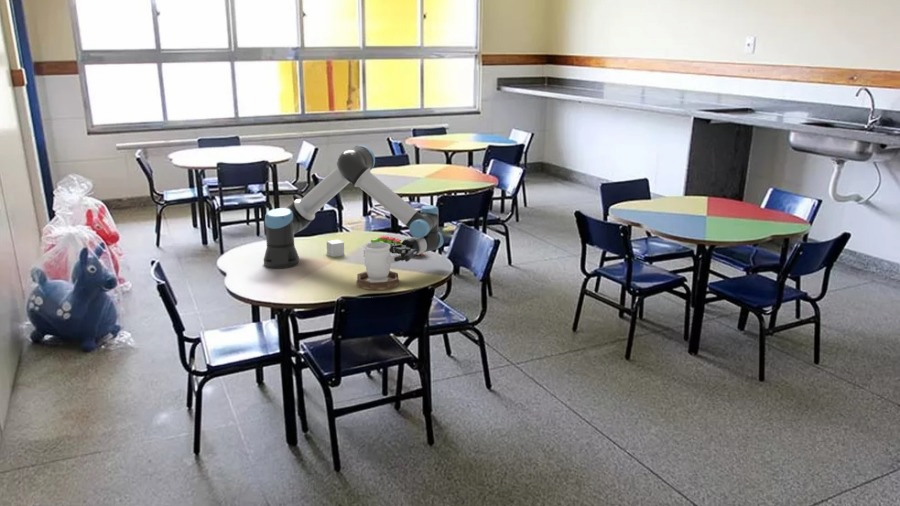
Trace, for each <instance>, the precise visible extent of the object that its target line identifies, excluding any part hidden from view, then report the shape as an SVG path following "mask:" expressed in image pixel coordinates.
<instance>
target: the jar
mask: <svg viewBox="0 0 900 506" xmlns="http://www.w3.org/2000/svg"><path fill="white" fill-rule="evenodd" d="M390 247H391V246H390V244H388V243H383V242H374V243H372V242H369V243H366V244H365V245H364V250H366V252H365V257H364V265H365V266H364V267H365V271H366V272H367V275H368V277H369V278H368V282H387V281H388V278H387V276H388V274H389V271H391V270H390V269H391V264H387V257H390V256H392V255H391V252H390V251H389V249H390Z"/></svg>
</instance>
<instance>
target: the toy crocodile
mask: <svg viewBox="0 0 900 506" xmlns="http://www.w3.org/2000/svg"><path fill="white" fill-rule="evenodd" d="M405 239H409V238H408V237H405ZM405 239H404V240H405ZM404 240H401V239H399V238H396V237H392V236H390V237H389V236H387V235H385V236H384V235H382V236H381V235H380V236H379V237H377V238H372V239H371V240H370V243H374V242H383V243H388V244H391V243H395V245H398V244H401V243H402V242H403V241H404ZM393 251H394V250H393Z"/></svg>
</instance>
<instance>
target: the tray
mask: <svg viewBox="0 0 900 506" xmlns="http://www.w3.org/2000/svg"><path fill="white" fill-rule="evenodd" d="M356 276H357V277H356V283H355V284H356V286H357V287H359V288H361V289H363V290H367V291H386V290H390V289H393V288H396V287H397V286H399V284H400V279H399V278H400V277H399V273H398V272H396V271H391V270H390V271H389V274H388V276H387V278H388V281H387V282H368V278H369V277H368V275H367V272H366V270H365V271H362V272H359V273H357V274H356Z"/></svg>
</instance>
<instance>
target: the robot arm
mask: <svg viewBox="0 0 900 506" xmlns="http://www.w3.org/2000/svg"><path fill="white" fill-rule="evenodd" d="M375 163H376V157H375V154H374V152H373V150H372V149H371V148H369V147H368V146H366V145H356V146H354V147H351V148H349V149H346V150H344V151H343V152H342V153H341V154H339V157H338V159H337V161H336V167H335V168H334V169H333V170H332V171H331V172H330V173H328V174H327V175H326V176H325V177H324V178H323V179H322V180H320V182H319V183H317V184H316V185H315V186H314V187H313V188H312V189H311V190H309V192H308V193H306V195H305V196H303V197H302V198H296V199H295V200H293V202H292V203H290V204H289V205H288V206H287V207H278V208H277V207H276V208H272V209H270V210H269V211H267V212H266V214H265V215H264V225H265V226H264V227H265V239H266V241H265V242H266V249H265V253H264V258H263V266H265V267H267V268H270V269H288V268H293V267H295V266H297V265H299V264H300V256H299V253H298V251H297V248H296V246H295V234H297V233H298V232H301V231H303V230H305V229H306V228H308V227H309V225H310V223H311V222H312V221H313V220H314V219H315V218H316V213H317V212H318V211H319V210H321V209H322V208H323V207H324V206H325V205H326V204H327V203H329V202H330V201H331V200H332V199H333V198H334V197H335V196H336V195H337V194H338V193H340V192H341V191H342V190H343V189H344V188H345V187H346V186H348V184H351V185H352V186H354V188H359V189H361V190H362V191H364V192H365V193H366V194H367V195H368V196H369V197H370V198H371V199H372V200H374V201H375V202H377V203H378V204H379V205H380V206H381V207H382V208H384V209H385V210H386V211H388V212H389V213H390V214H391V215H393V216H394V218H396V219H397V220H398V221H400V222H401V223H402V224H403V225H404V226H406V227H407V228H408V229H409V230H408V231H409V233H410V235H411V236H412V237H410V238H408V239H404V240H402V241H403V242H402V243H401V244H398V245H395V243H391V244H390V246H391V247H390V249H389V251H390V254H394V255H391V256H390V257H387V264H390V265H392V264H394V263H397V262H400V261H401V262H403V261H405V262H409V261H410V260H411V259H412V258H413V257H416V256H419V255H421V253H423V254H424V253H427V252H430V251H435V250H437V249H440V248H441V247H442V246H443V244H444V237H443V234H442V233H441V232H440V231H439V215H440V214H439V208H438V206H436V205H430V204H429V205H423V206H421V208H420V212H419V211H418V210H416V209H415V208H414V207H413V206H412V205H410V204H409V203H408V202H407V201H405V200H404V199H403V198H402V197H401V196H400V195H398V193H396V192H395V191H393V190H392V189H391V188H390V187H389V186H387V185H386V184H385V183H384V182H382V180H380V179H379V178H378V177H377V176H375V175H374V174H373V173H372V170H373V168H374V167H375ZM393 250H394V251H393ZM365 252H366V249H364V250H363V257H364V258H365Z"/></svg>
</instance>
